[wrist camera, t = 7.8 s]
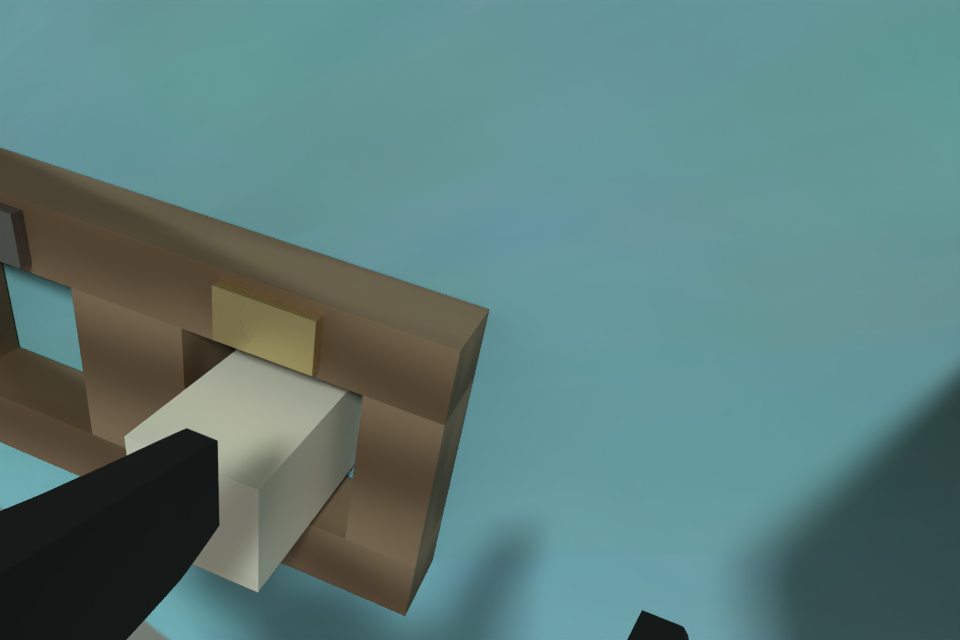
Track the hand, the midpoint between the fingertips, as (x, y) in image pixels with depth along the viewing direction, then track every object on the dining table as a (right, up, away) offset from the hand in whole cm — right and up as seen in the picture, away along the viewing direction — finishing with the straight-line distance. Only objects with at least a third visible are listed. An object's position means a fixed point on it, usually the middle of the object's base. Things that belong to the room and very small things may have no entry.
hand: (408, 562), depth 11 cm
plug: (-5, +1, +12) cm, 13 cm away
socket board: (-9, +3, +13) cm, 16 cm away
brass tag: (-5, +4, +8) cm, 10 cm away
